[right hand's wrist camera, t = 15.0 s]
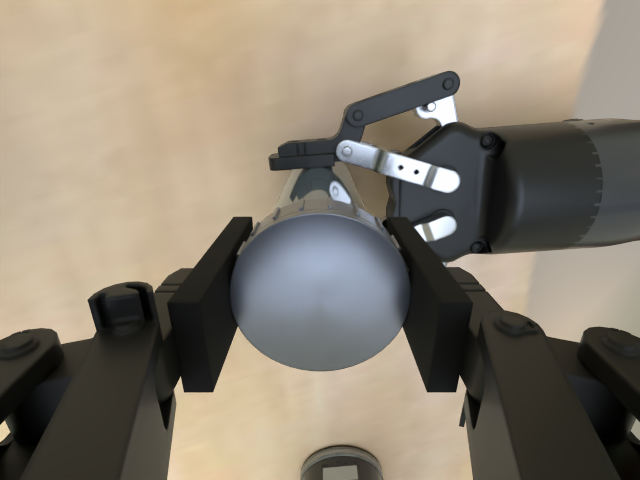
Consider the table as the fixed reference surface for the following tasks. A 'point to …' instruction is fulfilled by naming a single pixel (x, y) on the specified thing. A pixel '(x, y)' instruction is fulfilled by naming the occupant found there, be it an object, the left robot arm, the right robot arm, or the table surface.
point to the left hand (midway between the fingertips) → (277, 207)
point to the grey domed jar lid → (320, 286)
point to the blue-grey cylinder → (320, 186)
